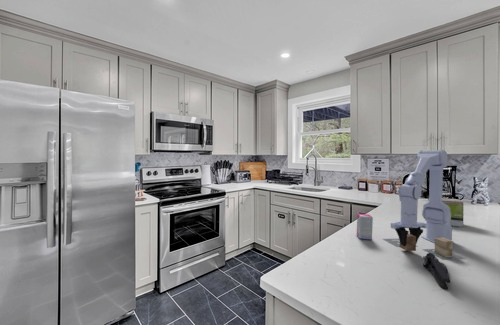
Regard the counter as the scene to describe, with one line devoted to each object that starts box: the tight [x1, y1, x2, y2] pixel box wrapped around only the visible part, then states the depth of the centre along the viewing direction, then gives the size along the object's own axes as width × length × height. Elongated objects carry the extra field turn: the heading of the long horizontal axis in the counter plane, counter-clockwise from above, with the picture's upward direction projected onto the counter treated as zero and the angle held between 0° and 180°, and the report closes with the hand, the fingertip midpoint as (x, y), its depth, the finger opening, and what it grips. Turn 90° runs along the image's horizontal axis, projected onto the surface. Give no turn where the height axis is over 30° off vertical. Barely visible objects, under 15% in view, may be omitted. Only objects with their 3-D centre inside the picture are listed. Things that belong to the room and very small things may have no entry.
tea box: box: [442, 197, 464, 228], centre depth 137 cm, size 15×10×15 cm, turn 58°
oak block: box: [434, 238, 454, 256], centre depth 93 cm, size 4×4×6 cm
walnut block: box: [399, 232, 417, 252], centre depth 95 cm, size 4×4×6 cm
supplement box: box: [356, 213, 374, 241], centre depth 111 cm, size 6×6×12 cm
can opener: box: [422, 252, 452, 290], centre depth 76 cm, size 18×7×6 cm, turn 151°
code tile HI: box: [422, 248, 466, 261], centre depth 93 cm, size 10×10×1 cm
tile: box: [382, 238, 418, 248], centre depth 105 cm, size 10×10×1 cm
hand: (408, 245), depth 95 cm, fingers closed on walnut block, 4 cm apart
